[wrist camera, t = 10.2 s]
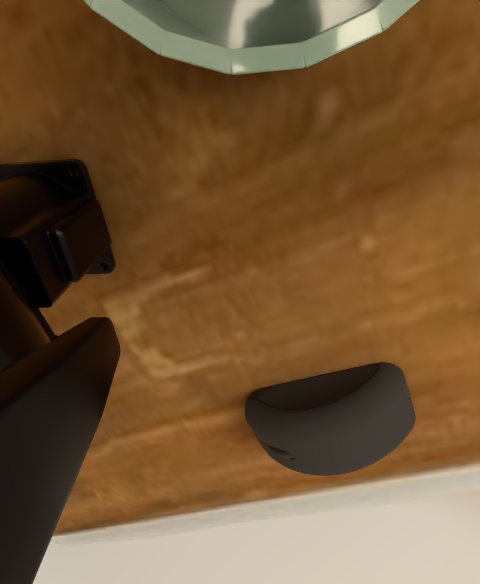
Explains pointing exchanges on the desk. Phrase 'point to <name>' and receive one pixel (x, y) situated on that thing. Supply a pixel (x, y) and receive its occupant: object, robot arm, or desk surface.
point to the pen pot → (251, 29)
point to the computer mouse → (333, 419)
